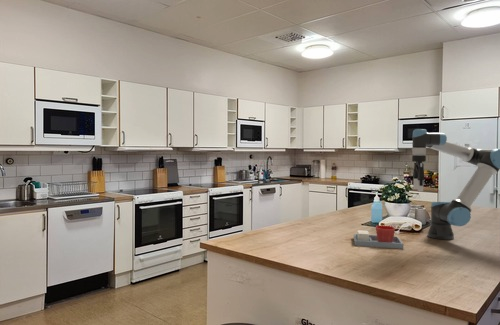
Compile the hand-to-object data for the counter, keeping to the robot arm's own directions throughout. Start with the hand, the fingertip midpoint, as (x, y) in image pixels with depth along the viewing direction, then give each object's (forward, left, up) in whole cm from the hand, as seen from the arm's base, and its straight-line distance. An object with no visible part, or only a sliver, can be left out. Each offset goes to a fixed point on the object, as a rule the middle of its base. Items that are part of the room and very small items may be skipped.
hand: (418, 190), depth 221 cm
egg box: (+12, -32, -31) cm, 46 cm away
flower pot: (+12, -20, -31) cm, 39 cm away
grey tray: (+12, -24, -32) cm, 42 cm away
